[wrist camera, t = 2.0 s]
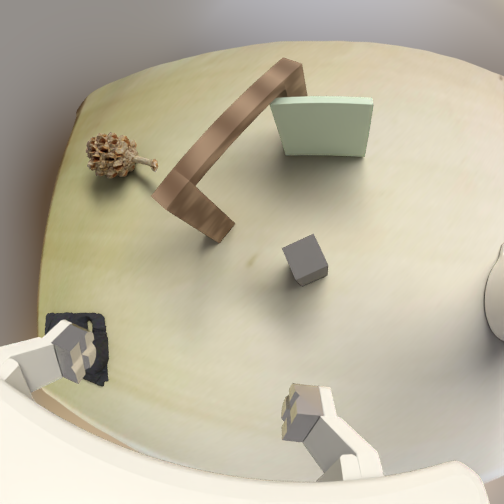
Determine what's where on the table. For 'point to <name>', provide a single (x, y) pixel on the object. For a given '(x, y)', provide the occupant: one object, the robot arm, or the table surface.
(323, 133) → the door
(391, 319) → the table surface
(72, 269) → the table surface
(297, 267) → the gray rectangular block
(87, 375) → the dark slate chunk
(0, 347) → the robot arm
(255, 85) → the door frame
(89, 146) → the dried seed pod
